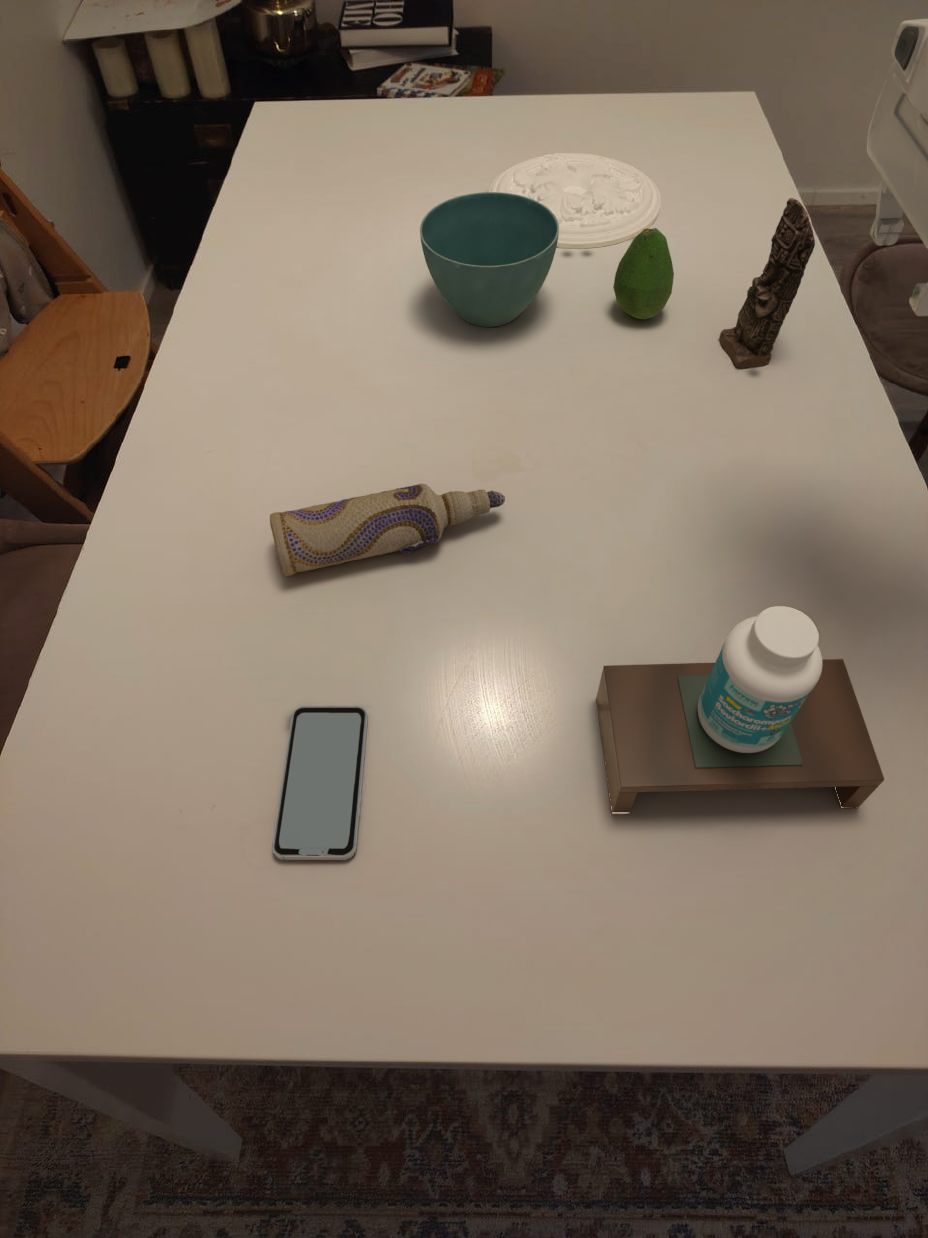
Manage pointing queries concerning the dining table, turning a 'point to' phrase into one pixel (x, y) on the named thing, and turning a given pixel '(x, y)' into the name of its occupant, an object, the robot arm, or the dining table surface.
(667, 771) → the shelf
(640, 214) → the ceiling medallion
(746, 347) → the statue
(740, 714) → the pill bottle
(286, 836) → the smartphone
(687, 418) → the dining table surface
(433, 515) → the decorative bottle
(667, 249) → the avocado
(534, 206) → the plant pot
